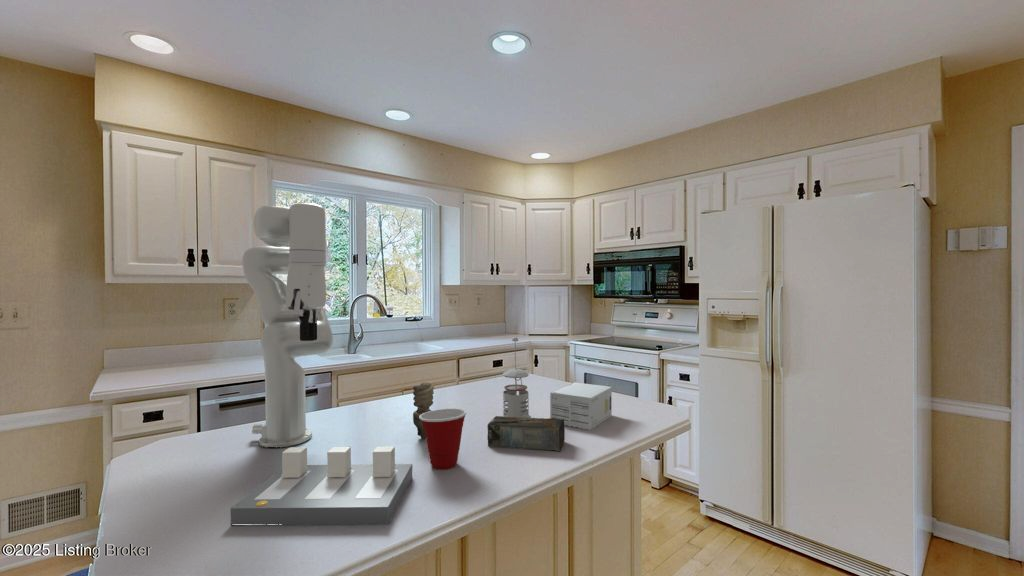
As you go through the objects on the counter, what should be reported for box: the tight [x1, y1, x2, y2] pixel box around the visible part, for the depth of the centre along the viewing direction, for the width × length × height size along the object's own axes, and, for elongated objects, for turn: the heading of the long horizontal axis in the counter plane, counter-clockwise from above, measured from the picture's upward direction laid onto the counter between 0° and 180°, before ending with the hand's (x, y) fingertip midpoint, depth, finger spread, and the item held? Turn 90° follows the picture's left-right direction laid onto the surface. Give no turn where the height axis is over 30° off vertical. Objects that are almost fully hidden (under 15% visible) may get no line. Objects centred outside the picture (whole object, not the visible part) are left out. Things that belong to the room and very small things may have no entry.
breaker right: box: [372, 445, 396, 477], centre depth 87 cm, size 4×4×5 cm
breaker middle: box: [326, 446, 352, 477], centre depth 87 cm, size 4×4×5 cm
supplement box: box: [549, 382, 613, 431], centre depth 132 cm, size 17×13×9 cm
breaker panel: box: [230, 463, 413, 526], centre depth 83 cm, size 27×18×3 cm, turn 90°
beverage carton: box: [486, 415, 566, 452], centre depth 112 cm, size 8×19×7 cm, turn 77°
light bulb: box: [412, 382, 435, 440], centre depth 116 cm, size 6×6×15 cm
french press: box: [502, 336, 532, 418], centre depth 134 cm, size 10×12×25 cm
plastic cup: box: [419, 408, 467, 471], centre depth 99 cm, size 11×11×12 cm
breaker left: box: [281, 446, 308, 478], centre depth 87 cm, size 4×4×5 cm
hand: (308, 340), depth 98 cm, fingers closed
